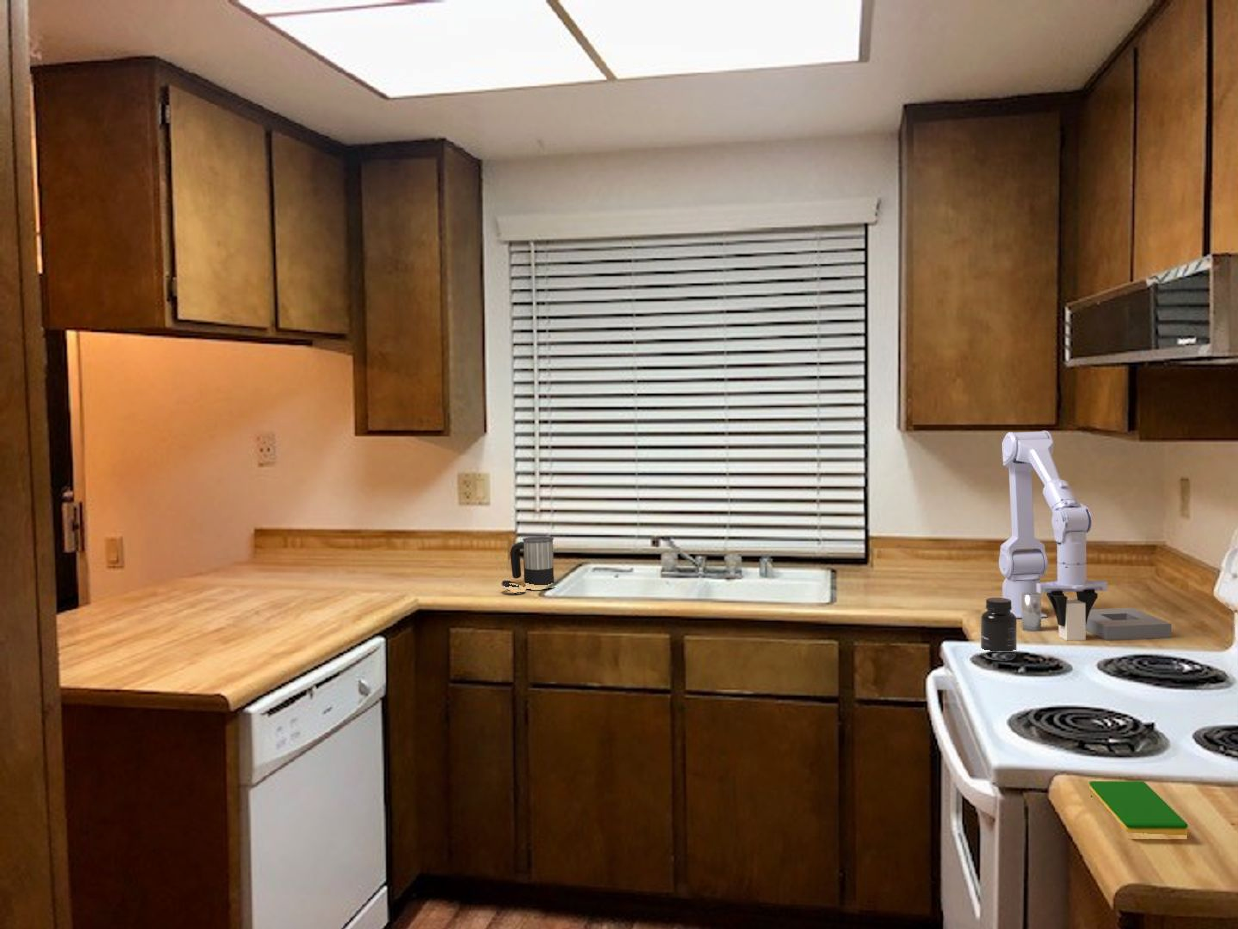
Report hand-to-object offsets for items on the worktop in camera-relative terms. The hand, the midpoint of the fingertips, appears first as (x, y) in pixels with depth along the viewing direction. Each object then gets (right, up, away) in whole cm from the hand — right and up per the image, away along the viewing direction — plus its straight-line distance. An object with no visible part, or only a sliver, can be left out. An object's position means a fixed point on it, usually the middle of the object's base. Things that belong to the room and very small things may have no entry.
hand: (1071, 624), depth 220 cm
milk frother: (-124, -2, +77) cm, 146 cm away
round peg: (-5, -3, +9) cm, 11 cm away
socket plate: (+13, -2, +5) cm, 14 cm away
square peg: (0, -3, 0) cm, 3 cm away
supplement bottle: (-21, -5, -13) cm, 25 cm away
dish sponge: (-31, -11, -89) cm, 95 cm away
